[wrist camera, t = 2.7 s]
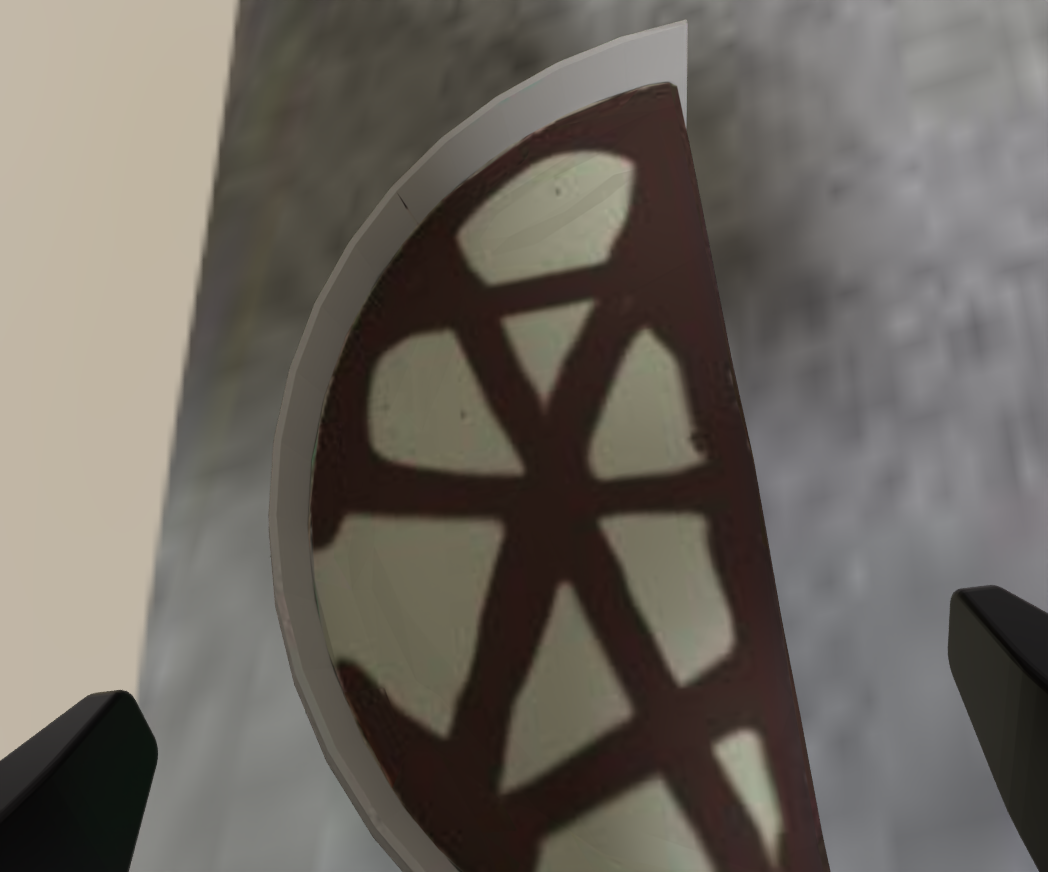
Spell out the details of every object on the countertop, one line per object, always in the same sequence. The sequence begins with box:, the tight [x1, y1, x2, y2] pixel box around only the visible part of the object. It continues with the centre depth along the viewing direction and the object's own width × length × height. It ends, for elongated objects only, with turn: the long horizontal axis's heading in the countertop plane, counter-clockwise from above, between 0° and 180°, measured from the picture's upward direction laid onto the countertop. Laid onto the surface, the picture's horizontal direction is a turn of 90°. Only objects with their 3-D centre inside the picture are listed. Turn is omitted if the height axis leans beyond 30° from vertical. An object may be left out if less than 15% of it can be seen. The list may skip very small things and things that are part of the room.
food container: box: [269, 19, 830, 872], centre depth 14 cm, size 12×6×10 cm, turn 6°
